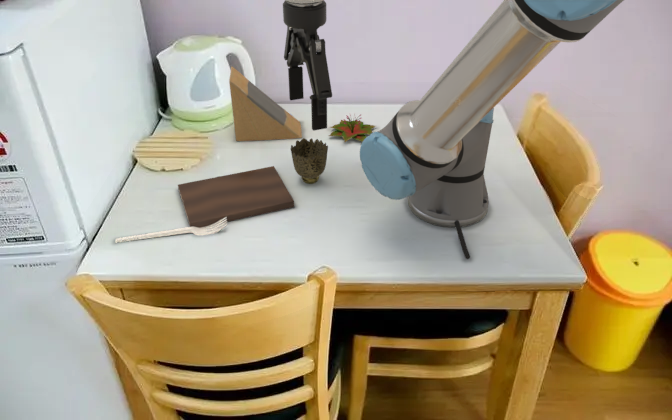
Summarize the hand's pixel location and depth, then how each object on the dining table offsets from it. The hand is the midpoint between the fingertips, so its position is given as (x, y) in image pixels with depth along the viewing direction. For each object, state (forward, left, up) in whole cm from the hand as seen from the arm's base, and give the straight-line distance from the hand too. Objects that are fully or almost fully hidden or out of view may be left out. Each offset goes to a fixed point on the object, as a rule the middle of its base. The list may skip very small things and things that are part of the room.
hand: (307, 113), depth 115 cm
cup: (0, 0, -15) cm, 15 cm away
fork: (-8, +29, -16) cm, 34 cm away
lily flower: (+16, -16, -15) cm, 27 cm away
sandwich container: (+24, +2, -15) cm, 28 cm away
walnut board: (-1, +16, -15) cm, 22 cm away
